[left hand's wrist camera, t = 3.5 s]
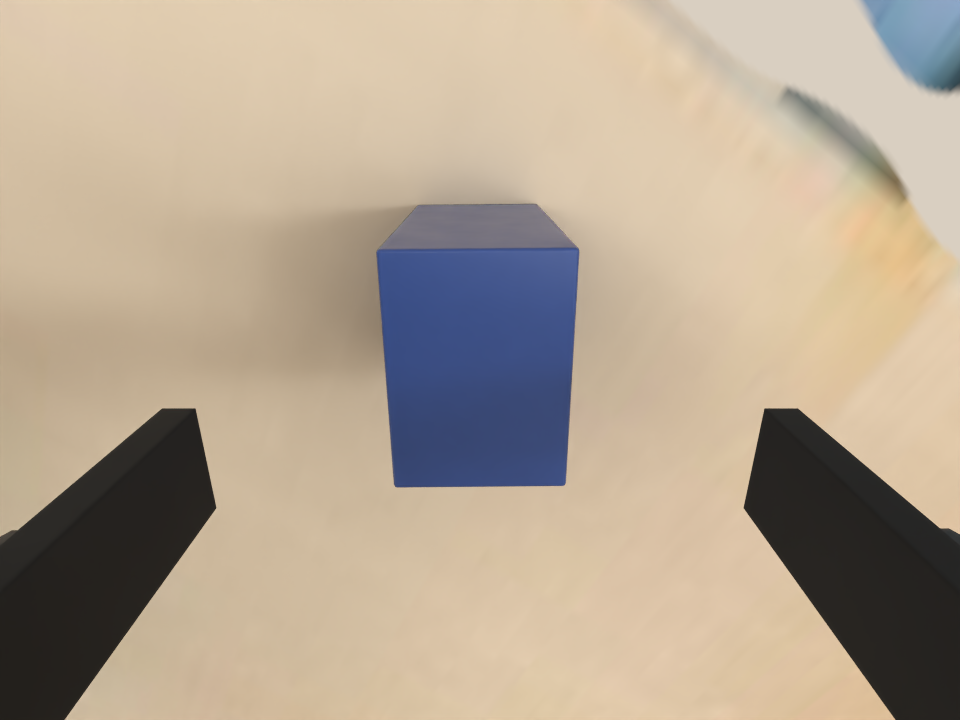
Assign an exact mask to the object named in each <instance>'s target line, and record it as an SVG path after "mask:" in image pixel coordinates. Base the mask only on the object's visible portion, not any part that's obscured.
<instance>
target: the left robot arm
mask: <svg viewBox="0 0 960 720" xmlns="http://www.w3.org/2000/svg"><path fill="white" fill-rule="evenodd" d="M215 509H216V504H215V499H214V495H213V490H212V485H211V480H210V476H209V471H208V466H207V461H206V457H205V452H204V447H203V442H202V438H201V433H200V428H199V423H198V419H197V414H196V409H161V410H160V411H159V412H158V413H156V414H155V415H154V416H153V417H152V418H150V419H149V420H148V421H147V422H146V423H145V424H143V425H142V426H141V427H140V428H139V429H137V430H136V431H135V432H134V433H133V434H131V435H130V436H129V437H128V438H127V439H126V440H124V441H123V442H122V443H121V444H120V445H118V446H117V447H116V448H115V449H114V450H113V451H111V452H110V453H109V454H108V455H107V456H105V457H104V458H103V459H102V460H101V461H99V462H98V463H97V464H96V465H95V466H94V467H92V468H91V469H90V470H89V471H88V472H86V473H85V474H84V475H83V476H82V477H81V478H79V479H78V480H77V481H76V482H75V483H73V484H72V485H71V486H70V487H69V488H67V489H66V490H65V491H64V492H63V493H62V494H60V495H59V496H58V497H57V498H56V499H54V500H53V501H52V502H51V503H50V504H49V505H47V506H46V507H45V508H44V509H43V510H41V511H40V512H39V513H38V514H37V515H35V516H34V517H33V518H32V519H31V520H30V521H28V522H27V523H26V524H25V525H24V526H22V527H21V528H20V529H19V530H12V531H10V532H8V533H6V534H5V535H3V536H1V537H0V720H65V718H66V717H67V715H68V714H69V713H70V711H71V710H72V708H73V707H74V706H75V704H76V703H77V702H78V700H79V699H80V697H81V696H82V695H83V693H84V692H85V690H86V689H87V688H88V686H89V685H90V683H91V682H92V681H93V679H94V678H95V676H96V675H97V674H98V672H99V671H100V669H101V668H102V667H103V665H104V664H105V662H106V661H107V660H108V658H109V657H110V656H111V654H112V653H113V651H114V650H115V649H116V647H117V646H118V644H119V643H120V642H121V640H122V639H123V637H124V636H125V635H126V633H127V632H128V630H129V629H130V628H131V626H132V625H133V623H134V622H135V621H136V619H137V618H138V616H139V615H140V614H141V612H142V611H143V610H144V608H145V607H146V605H147V604H148V603H149V601H150V600H151V598H152V597H153V596H154V594H155V593H156V591H157V590H158V589H159V587H160V586H161V584H162V583H163V582H164V580H165V579H166V577H167V576H168V575H169V573H170V572H171V570H172V569H173V568H174V566H175V565H176V564H177V562H178V561H179V559H180V558H181V557H182V555H183V554H184V552H185V551H186V550H187V548H188V547H189V545H190V544H191V543H192V541H193V540H194V538H195V537H196V536H197V534H198V533H199V531H200V530H201V529H202V527H203V526H204V524H205V523H206V522H207V520H208V519H209V518H210V516H211V515H212V513H213V512H214V511H215ZM744 509H745V511H746V512H747V513H748V515H749V516H750V518H751V519H752V520H753V522H754V523H755V524H756V526H757V527H758V529H759V530H760V531H761V533H762V534H763V536H764V537H765V538H766V540H767V541H768V543H769V544H770V545H771V547H772V548H773V550H774V551H775V552H776V554H777V555H778V557H779V558H780V559H781V561H782V562H783V564H784V565H785V566H786V568H787V569H788V570H789V572H790V573H791V575H792V576H793V577H794V579H795V580H796V582H797V583H798V584H799V586H800V587H801V589H802V590H803V591H804V593H805V594H806V596H807V597H808V598H809V600H810V601H811V603H812V604H813V605H814V607H815V608H816V610H817V611H818V612H819V614H820V615H821V616H822V618H823V619H824V621H825V622H826V623H827V625H828V626H829V628H830V629H831V630H832V632H833V633H834V635H835V636H836V637H837V639H838V640H839V642H840V643H841V644H842V646H843V647H844V649H845V650H846V651H847V653H848V654H849V656H850V657H851V658H852V660H853V661H854V662H855V664H856V665H857V667H858V668H859V669H860V671H861V672H862V674H863V675H864V676H865V678H866V679H867V681H868V682H869V683H870V685H871V686H872V688H873V689H874V690H875V692H876V693H877V695H878V696H879V697H880V699H881V700H882V702H883V703H884V704H885V706H886V707H887V708H888V710H889V711H890V713H891V714H892V715H893V717H894V718H895V720H960V534H958V533H956V532H954V531H952V530H951V529H940V528H939V527H938V526H936V525H935V524H934V523H933V522H932V521H930V520H929V519H928V518H927V517H926V516H925V515H923V514H922V513H921V512H920V511H919V510H917V509H916V508H915V507H914V506H913V505H911V504H910V503H909V502H908V501H907V500H906V499H904V498H903V497H902V496H901V495H900V494H898V493H897V492H896V491H895V490H894V489H893V488H891V487H890V486H889V485H888V484H887V483H885V482H884V481H883V480H882V479H881V478H879V477H878V476H877V475H876V474H875V473H874V472H872V471H871V470H870V469H869V468H868V467H866V466H865V465H864V464H863V463H862V462H861V461H859V460H858V459H857V458H856V457H855V456H853V455H852V454H851V453H850V452H849V451H847V450H846V449H845V448H844V447H843V446H842V445H840V444H839V443H838V442H837V441H836V440H834V439H833V438H832V437H831V436H830V435H829V434H827V433H826V432H825V431H824V430H823V429H821V428H820V427H819V426H818V425H817V424H815V423H814V422H813V421H812V420H811V419H810V418H808V417H807V416H806V415H805V414H804V413H802V412H801V411H800V410H799V409H764V414H763V419H762V423H761V428H760V433H759V438H758V442H757V447H756V452H755V457H754V461H753V466H752V471H751V476H750V480H749V485H748V490H747V495H746V499H745V504H744Z"/></svg>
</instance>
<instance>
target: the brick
mask: <svg viewBox="0 0 960 720" xmlns="http://www.w3.org/2000/svg"><path fill="white" fill-rule="evenodd" d="M376 254H377V267H378V280H379V293H380V307H381V320H382V333H383V346H384V359H385V372H386V386H387V399H388V412H389V425H390V438H391V451H392V464H393V478H394V485H395V487H487V486H564V485H565V483H566V470H567V453H568V436H569V418H570V401H571V384H572V367H573V350H574V333H575V315H576V298H577V281H578V264H579V249H578V248H577V246H576V245H575V244H574V243H573V242H572V241H571V240H570V239H569V238H568V237H567V236H566V235H565V234H564V233H563V232H562V230H561V229H560V228H559V227H558V226H557V225H556V224H555V223H554V222H553V221H552V220H551V219H550V218H549V217H548V216H547V214H546V213H545V212H544V211H543V210H542V209H541V208H540V207H539V206H538V205H537V204H481V205H418V206H417V207H416V208H415V209H414V210H413V211H412V213H411V214H410V215H409V216H408V217H407V218H406V219H405V220H404V221H403V222H402V223H401V225H400V226H399V227H398V228H397V229H396V230H395V231H394V232H393V233H392V234H391V236H390V237H389V238H388V239H387V240H386V241H385V242H384V243H383V244H382V245H381V247H380V248H379V249H378V250H377V252H376Z"/></svg>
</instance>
